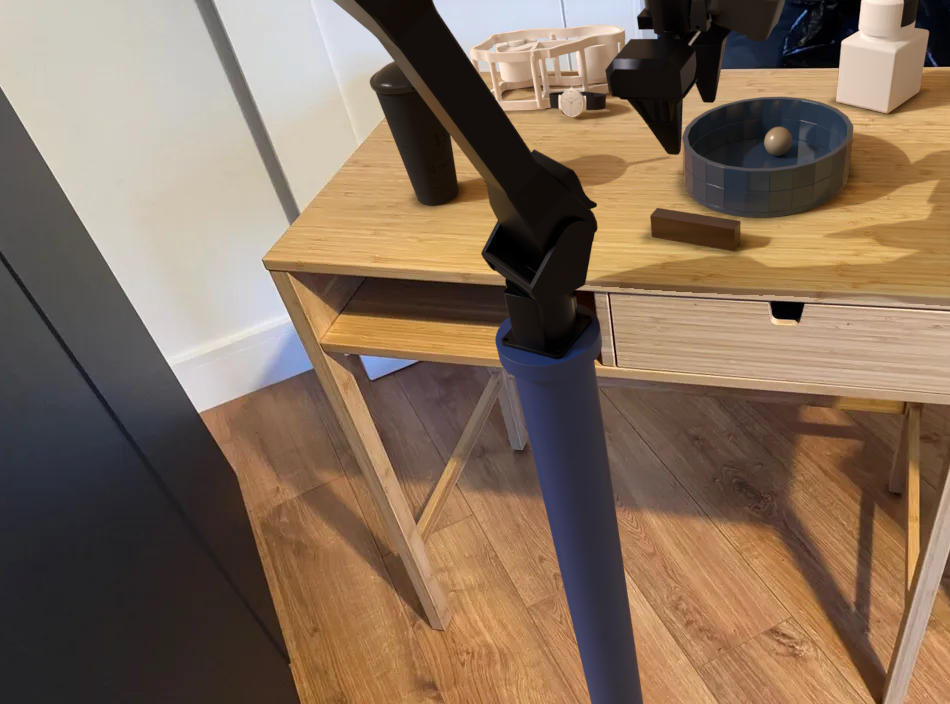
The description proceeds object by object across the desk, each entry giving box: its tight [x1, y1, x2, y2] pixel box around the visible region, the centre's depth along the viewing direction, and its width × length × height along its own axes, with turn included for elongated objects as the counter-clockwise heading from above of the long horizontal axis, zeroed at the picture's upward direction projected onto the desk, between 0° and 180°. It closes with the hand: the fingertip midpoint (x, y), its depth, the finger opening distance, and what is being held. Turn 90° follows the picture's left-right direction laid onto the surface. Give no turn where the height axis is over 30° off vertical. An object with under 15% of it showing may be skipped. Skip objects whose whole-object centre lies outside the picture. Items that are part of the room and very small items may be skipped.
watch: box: [549, 86, 607, 118], centre depth 104 cm, size 8×5×4 cm, turn 67°
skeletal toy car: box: [469, 24, 626, 112], centre depth 109 cm, size 20×11×7 cm, turn 78°
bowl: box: [681, 96, 854, 218], centre depth 86 cm, size 17×17×5 cm
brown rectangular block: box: [649, 207, 742, 252], centre depth 80 cm, size 2×9×2 cm, turn 61°
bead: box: [764, 127, 792, 156], centre depth 89 cm, size 3×3×3 cm
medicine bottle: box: [835, 0, 930, 115], centre depth 94 cm, size 7×7×12 cm
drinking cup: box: [369, 60, 460, 206], centre depth 87 cm, size 8×8×20 cm
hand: (692, 126), depth 73 cm, fingers open, 9 cm apart
